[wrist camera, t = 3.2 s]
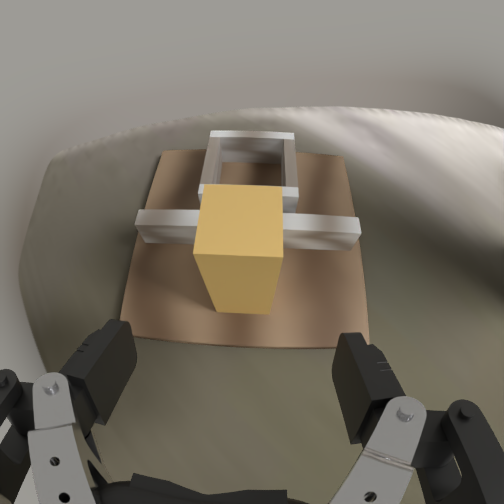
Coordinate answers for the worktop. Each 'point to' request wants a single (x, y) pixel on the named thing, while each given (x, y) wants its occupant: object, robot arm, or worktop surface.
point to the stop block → (240, 246)
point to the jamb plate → (294, 249)
